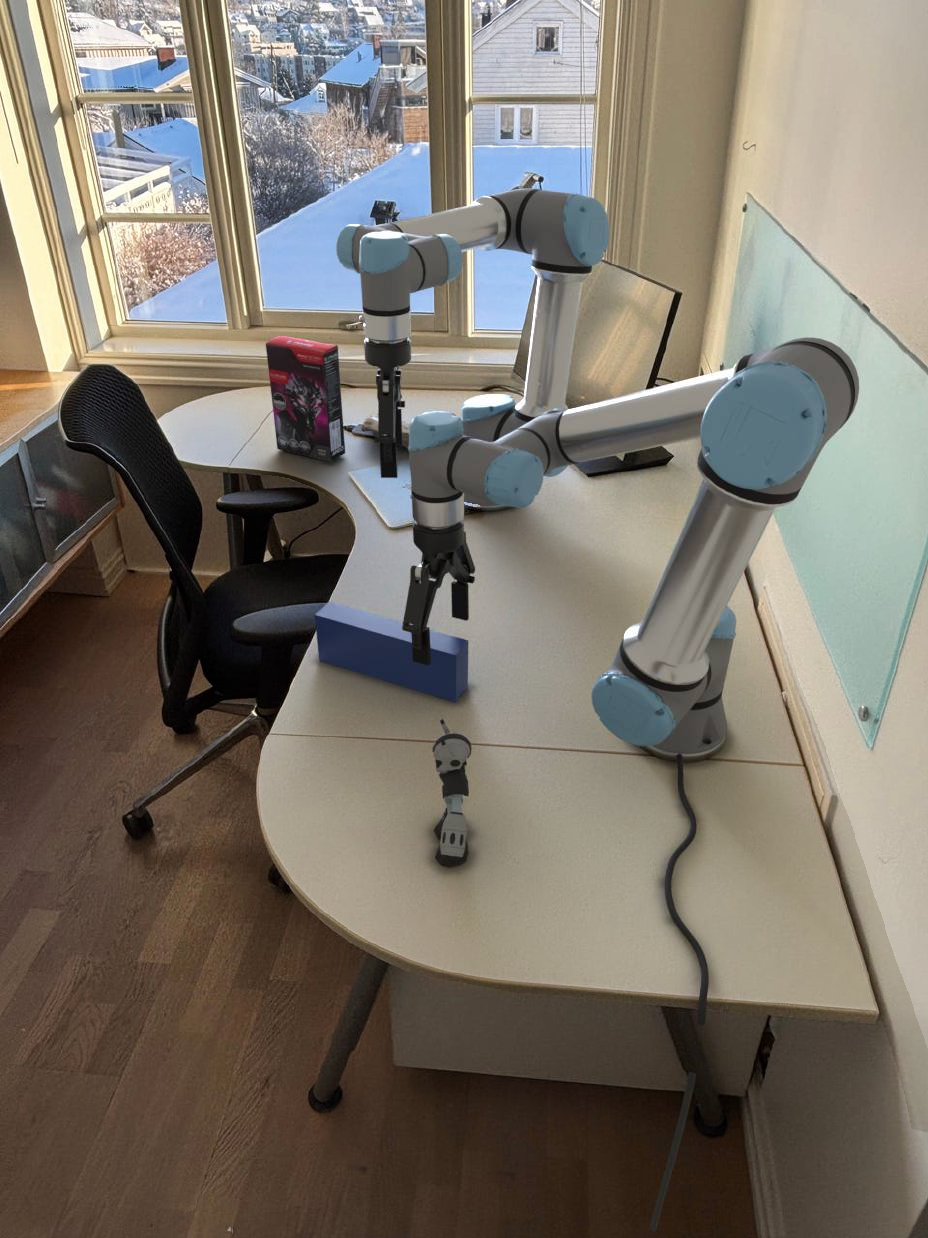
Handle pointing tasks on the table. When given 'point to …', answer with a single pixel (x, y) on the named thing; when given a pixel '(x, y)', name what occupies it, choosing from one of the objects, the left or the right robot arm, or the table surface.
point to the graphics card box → (306, 397)
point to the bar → (390, 651)
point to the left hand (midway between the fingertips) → (392, 460)
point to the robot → (452, 796)
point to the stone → (372, 426)
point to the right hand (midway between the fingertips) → (441, 639)
